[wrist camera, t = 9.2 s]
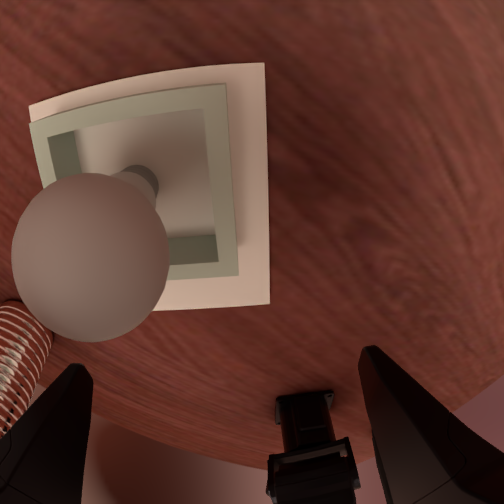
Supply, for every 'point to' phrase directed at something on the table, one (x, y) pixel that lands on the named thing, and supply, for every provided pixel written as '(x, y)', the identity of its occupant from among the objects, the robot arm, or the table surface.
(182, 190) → the tray
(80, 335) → the lightbulb
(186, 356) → the table surface
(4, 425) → the water bottle
